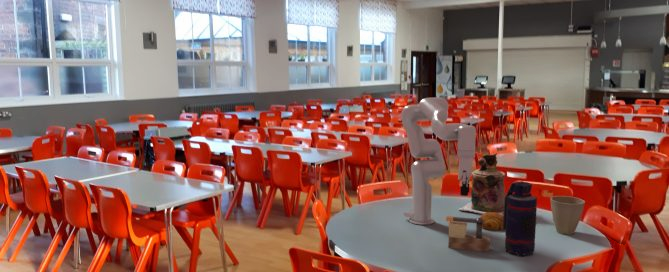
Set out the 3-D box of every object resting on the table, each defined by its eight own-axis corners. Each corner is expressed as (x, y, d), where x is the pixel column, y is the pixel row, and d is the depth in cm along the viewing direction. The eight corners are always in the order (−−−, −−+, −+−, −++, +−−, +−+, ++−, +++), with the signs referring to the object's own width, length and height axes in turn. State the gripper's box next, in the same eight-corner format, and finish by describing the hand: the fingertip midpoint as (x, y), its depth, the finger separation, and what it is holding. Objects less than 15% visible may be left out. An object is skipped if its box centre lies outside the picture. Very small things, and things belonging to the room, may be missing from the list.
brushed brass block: (448, 236, 228) (449, 223, 227) (450, 232, 234) (450, 219, 233) (465, 238, 226) (465, 224, 225) (466, 234, 232) (466, 221, 231)
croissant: (475, 232, 257) (474, 217, 255) (482, 220, 271) (482, 205, 269) (505, 236, 251) (505, 220, 249) (511, 223, 264) (511, 208, 262)
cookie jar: (474, 202, 307) (476, 147, 303) (516, 208, 293) (519, 151, 289) (457, 211, 288) (459, 153, 283) (502, 218, 273) (504, 158, 269)
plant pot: (549, 235, 246) (551, 202, 244) (548, 226, 260) (549, 194, 258) (584, 238, 241) (586, 205, 239) (581, 229, 255) (583, 197, 253)
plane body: (448, 247, 229) (449, 222, 228) (449, 243, 234) (450, 219, 233) (489, 251, 224) (490, 226, 222) (489, 248, 229) (490, 223, 227)
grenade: (540, 253, 222) (543, 183, 218) (522, 259, 216) (525, 187, 212) (513, 244, 234) (516, 178, 230) (495, 249, 227) (497, 181, 223)
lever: (445, 220, 229) (446, 217, 229) (446, 219, 232) (446, 215, 232) (482, 224, 224) (482, 220, 224) (483, 222, 227) (483, 218, 227)
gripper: (459, 150, 240) (458, 189, 242) (455, 156, 224) (454, 197, 226) (476, 151, 238) (474, 190, 240) (473, 157, 222) (472, 199, 224)
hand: (464, 193), depth 233 cm, fingers open, 5 cm apart
